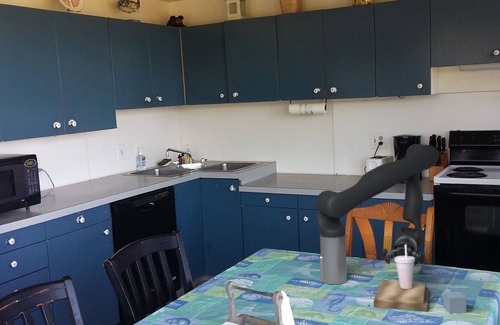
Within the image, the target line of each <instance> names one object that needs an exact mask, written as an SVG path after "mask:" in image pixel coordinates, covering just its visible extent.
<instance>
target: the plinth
mask: <svg viewBox="0 0 500 325" xmlns="http://www.w3.org/2000/svg"><path fill="white" fill-rule="evenodd" d="M429 292H430V291H429V286H428V287H427V286H426V282H424V281H412V288H410V289H403V288H400V283H399V280H395V279H394V280H393V279H381V282H380V283H379V284H378V288H377V290H376V292H375V296H374V299H373V308H377V309H378V308H380V309H390V310H391V309H392V310H401V311H402V310H404V311H405V310H406V311H415V312H417V311H418V312H425V313H426V312H428V303H429V294H430V293H429Z"/></svg>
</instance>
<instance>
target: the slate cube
mask: <svg viewBox="0 0 500 325" xmlns="http://www.w3.org/2000/svg"><path fill="white" fill-rule="evenodd" d="M442 296H443V298H442V299H443V308H444V310H445V311H446V310H447V311H448V312H449V313H450V314H449V313H448V312H447V313H448V314H449V315H451V314H452V315H453V313H457V314H467V297H466V295H464V294H463V293H462V292H461V291H459V290H457V291H445V292H443V294H442Z"/></svg>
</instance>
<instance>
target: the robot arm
mask: <svg viewBox="0 0 500 325" xmlns="http://www.w3.org/2000/svg"><path fill="white" fill-rule="evenodd" d="M439 156H440V154H439V150H438V149H437V148H436V147H435V146H432V145H429V144H420V143H417V144H416V143H414V144H412V145H410V146H408V148H407V149H406V153H405V157H404V158H402V159H398V160H394V161H390V162H386V163H383V164H380V165H378V166H376V167H374V168H373V169H371V170H369V171H366V173H364V174H363V175H362V176H361V177H360V178H359V180H358V181H357V182H356V183H355V184H354V185H352V186H351V187H348V188H346V189H343V190H342V191H339V192H337V191H333V190H329V189H327V190H323V191H322V192H320V193H319V194H318V196H317V197H316V202H315V212H316V213H315V214H316V224H317V228H318V230H319V240H320V242H319V244H320V256H319V277H320V278H319V279H320V283H324V284H327V285H328V284H329V285H341V284H345V283H347V282H348V271H347V270H348V268H347V267H348V266H347V244H346V243H347V240H346V239H347V238H346V228H345V226H344V225H343V223H342V221H341V218H342V217H344V216H346V215H347V214H348V213H349V212H351V211H352V210H353V209H355V208H357V207H358V206H360V205H361V204H363V203H364V202H366V201H368V200H370V199H372V198H374V197H376V196H378V195H380V194H381V193H384V192H386V191H387V190H389V189H391V188H393V187H394V186H396V185H398V184H400V183H402V182H403V181H405V194H404V202H403V208H402V209H403V210H402V216H401V218H402V219H403V220H404V221H406V222H409V223H410V224H413V226H414V227H408V226H399V227H397V228H396V230H395V231H394V240H395V243H394V247H393V249H391V250H389V249H387V248H383V249H382V251H381V253H380V257H381V261H385V263H387V264H386V265H390V263H391V262H392V261H393V262H395V257H397V256H405V244H406V245H407V256H412V257H414V258H415V261H414V266H417V265H419V264H420V262H421V263H426V251H425V250H421V251H419V252H418V251H417V249H418V248H419V247H420V246H422V244H423V242H424V236H423V229H422V215H423V208H424V195H423V191H422V186H421V182H420V179H421V178H420V177H421V176H420V175H421V172H424V171H427V170H429V169H432V168H433V167H434V166H435V165H436V164H437V162H438V160H439Z"/></svg>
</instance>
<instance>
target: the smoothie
mask: <svg viewBox="0 0 500 325" xmlns="http://www.w3.org/2000/svg"><path fill="white" fill-rule="evenodd" d="M414 261H415V258H414V257H412V256H407V245H406V244H405V256H397V257H395V261H394V262H395V266H396V272H397V276H398V281H399V283H400V288H403V289H410V288H412V282H414V281H413V278H414V266H415V265H414Z"/></svg>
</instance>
